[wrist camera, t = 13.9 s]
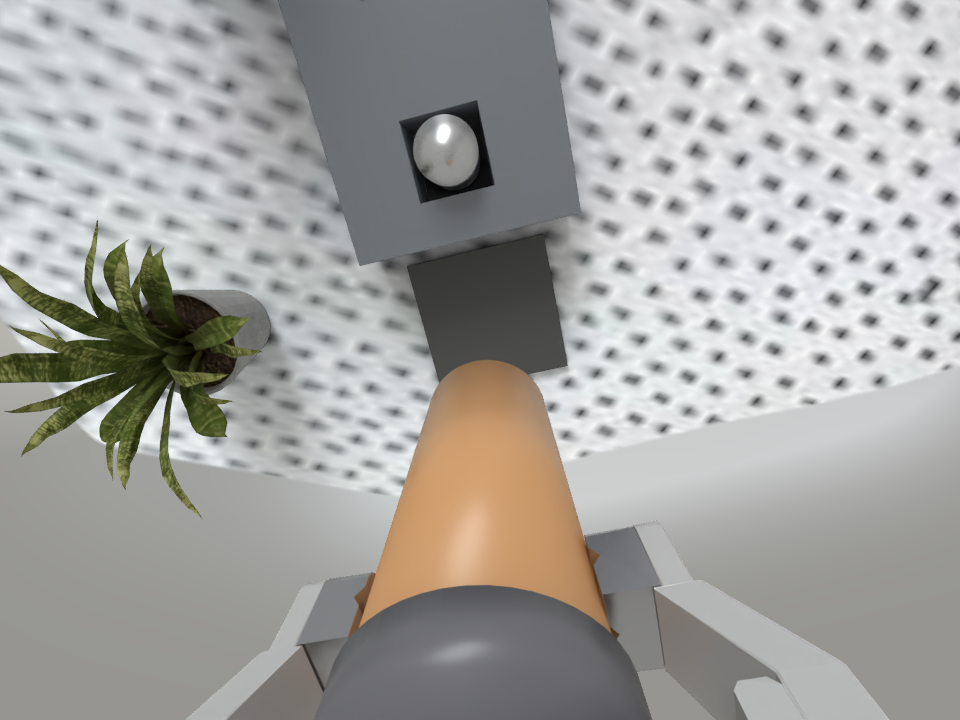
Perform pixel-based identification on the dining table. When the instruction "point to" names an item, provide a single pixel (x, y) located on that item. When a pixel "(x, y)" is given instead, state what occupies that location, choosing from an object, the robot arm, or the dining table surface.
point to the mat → (491, 307)
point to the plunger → (447, 152)
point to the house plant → (139, 355)
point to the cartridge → (484, 578)
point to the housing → (434, 113)
